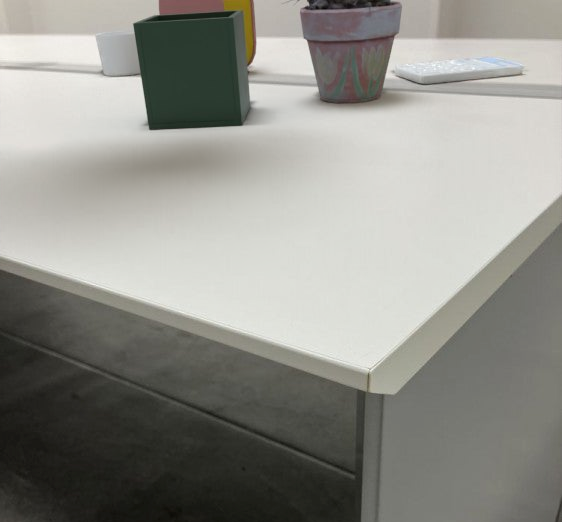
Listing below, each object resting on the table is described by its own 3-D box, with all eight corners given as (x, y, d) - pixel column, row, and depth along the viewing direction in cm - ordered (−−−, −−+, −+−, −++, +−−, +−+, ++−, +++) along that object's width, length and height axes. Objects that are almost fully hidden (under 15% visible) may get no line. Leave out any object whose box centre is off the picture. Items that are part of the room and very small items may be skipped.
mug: (133, 76, 146) (127, 34, 142) (92, 76, 150) (85, 35, 146) (164, 67, 157) (159, 27, 153) (125, 67, 160) (119, 29, 156)
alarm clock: (261, 71, 142) (254, -37, 132) (224, 79, 135) (214, -34, 125) (200, 67, 153) (189, -34, 143) (163, 74, 146) (149, -31, 136)
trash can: (149, 129, 99) (132, 23, 92) (167, 111, 110) (153, 15, 103) (242, 125, 98) (233, 17, 91) (250, 107, 109) (243, 9, 102)
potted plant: (295, 89, 121) (288, -79, 108) (407, 86, 117) (413, -89, 104) (275, 110, 106) (264, -83, 93) (403, 106, 102) (410, -94, 89)
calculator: (392, 75, 128) (392, 64, 127) (489, 65, 132) (490, 54, 131) (421, 85, 117) (421, 73, 116) (526, 74, 121) (527, 62, 120)
